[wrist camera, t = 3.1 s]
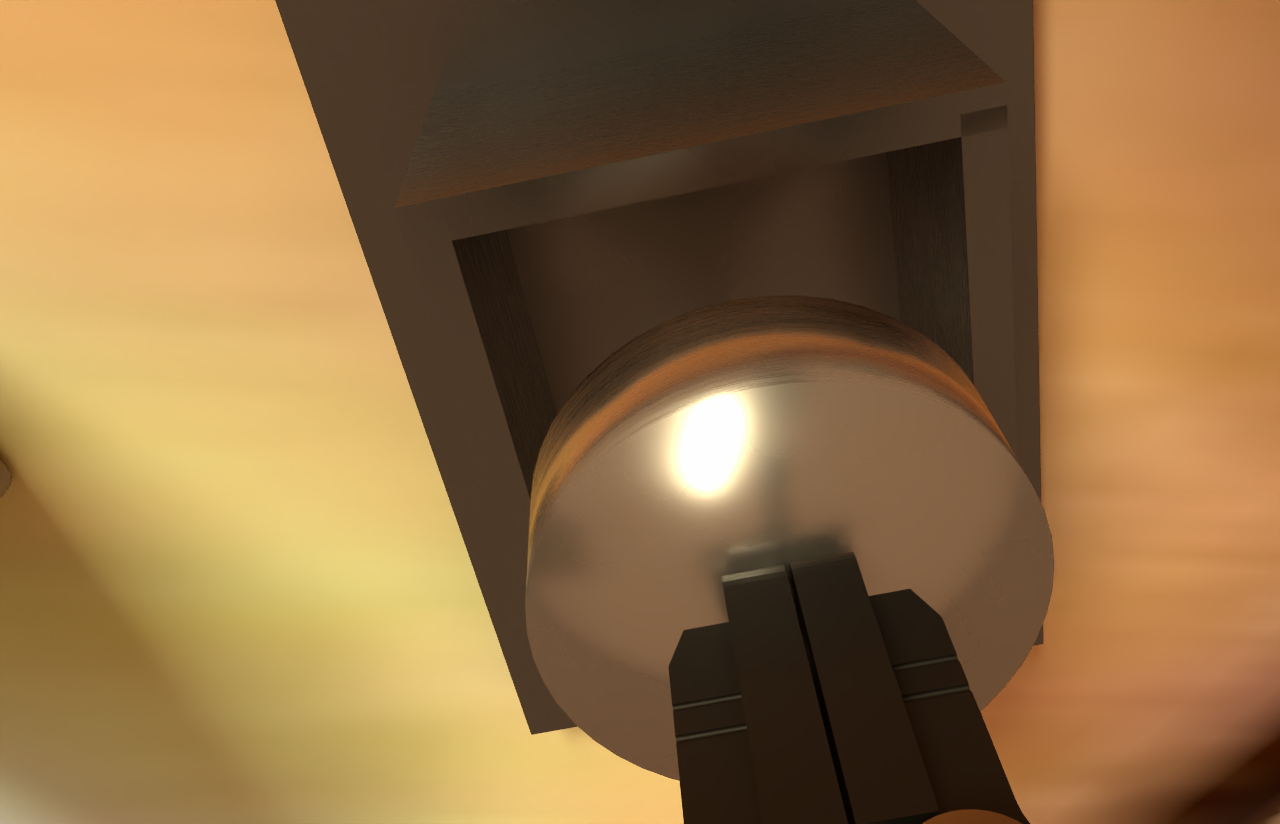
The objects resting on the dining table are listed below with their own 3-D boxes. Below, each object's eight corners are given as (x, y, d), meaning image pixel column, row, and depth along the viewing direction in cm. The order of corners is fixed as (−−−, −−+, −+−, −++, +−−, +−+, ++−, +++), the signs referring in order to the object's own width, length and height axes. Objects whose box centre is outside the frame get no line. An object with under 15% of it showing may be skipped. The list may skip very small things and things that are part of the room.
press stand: (293, -21, 20) (68, 214, 11) (999, -176, 19) (1371, -60, 10) (533, 688, 29) (515, 1136, 20) (1022, 600, 28) (1232, 1025, 19)
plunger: (486, 277, 15) (462, 444, 12) (942, 185, 15) (1052, 331, 12) (650, 840, 21) (665, 1058, 18) (979, 783, 21) (1058, 995, 18)
